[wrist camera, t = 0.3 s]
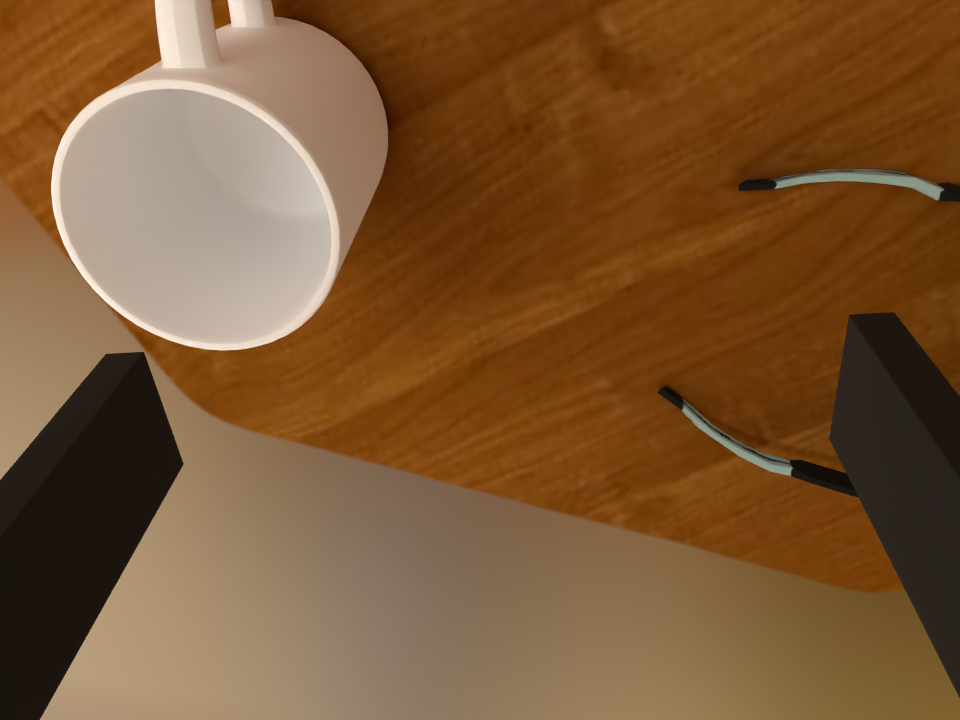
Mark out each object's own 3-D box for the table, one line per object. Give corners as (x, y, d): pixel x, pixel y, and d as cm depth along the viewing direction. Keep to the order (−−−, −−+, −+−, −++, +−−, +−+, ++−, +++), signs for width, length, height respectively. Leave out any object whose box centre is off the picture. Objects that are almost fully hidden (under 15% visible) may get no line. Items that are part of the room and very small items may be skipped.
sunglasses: (946, 483, 40) (980, 556, 35) (644, 399, 40) (642, 461, 36) (1126, 213, 32) (1197, 264, 28) (753, 116, 33) (766, 152, 29)
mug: (136, -105, 28) (-39, -83, 20) (375, -108, 28) (304, -88, 19) (203, 222, 35) (92, 350, 26) (399, 224, 34) (353, 353, 26)
